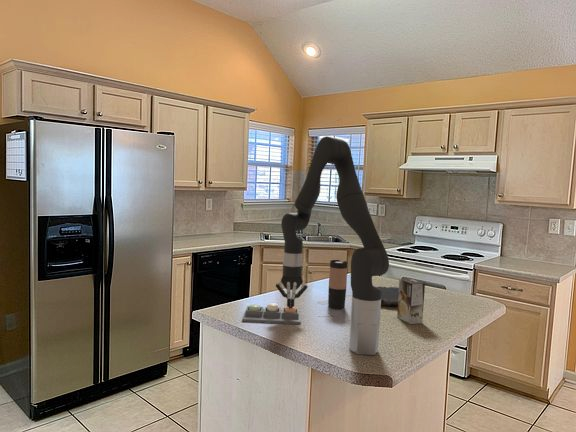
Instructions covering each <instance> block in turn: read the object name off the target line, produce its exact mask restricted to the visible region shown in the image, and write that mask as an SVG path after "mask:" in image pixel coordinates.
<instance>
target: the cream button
mask: <svg viewBox="0 0 576 432" xmlns="http://www.w3.org/2000/svg"><path fill="white" fill-rule="evenodd" d="M266 307H267V311H268V312H278V308H279V304H278V303H274V302H271V303H267V304H266Z"/></svg>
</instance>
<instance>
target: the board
mask: <svg viewBox="0 0 576 432" xmlns="http://www.w3.org/2000/svg"><path fill="white" fill-rule="evenodd" d="M376 287H377V288H379V289H380V290H381V292H382V296H381V306H384V307H385V306H386V307H388V306H390V307H391V306H392V307H396V306H397V307H398V295H399V286H398V287H396V286H389V287H387V286H376Z"/></svg>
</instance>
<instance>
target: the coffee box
mask: <svg viewBox="0 0 576 432" xmlns="http://www.w3.org/2000/svg"><path fill="white" fill-rule="evenodd" d="M398 287H399V295H398V305H397V315H396V317H397V318H398V319H399V320H400V321H401V320H402V321H404V322H405V323H407V324H409V325H415V324H416V325H417V324H422V323H423V320H424V319H423V318H424V305H425V291H426V288H425V287H426V283H425V282H422V281H420V280H416V279H413V278H399V281H398Z"/></svg>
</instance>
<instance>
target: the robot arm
mask: <svg viewBox="0 0 576 432" xmlns="http://www.w3.org/2000/svg"><path fill="white" fill-rule="evenodd" d="M327 164H331V165H333V166H334V167H335V169H336V172H337V176H338V185H337V190H336V197H335V199H336V203H337V206H338V209H339V213H340V215H341V217H342V218H343V220H344V221H345V223H346V224H347V225H348V226H349V227H350V228H351V229H352V230H353V231H354V232H355V234H356V235H357V236H358V237H359V239H360V241H361V244H362V246H363V247H359V248H356V249H355V250H354V251H353V253H352V255H351V260H350V287H351V291H352V292H351V293H352V295H351V310H350V311H351V312H350V328H349V343H348V345H349V346H348V349H349V350H350V351H351V352H353V353H355V355H364V356H365V355H367V356H368V355H369V356H376V354H377V353H378V352H379V340H380V339H379V338H380V325H381V308H382V305H381V296H382V292H381V290H380V289H379V288H377V287H378V286H374V285H373V277H378V276H383V275H385V274H387V272H388V271H389V268H390V259H389V256H388V253H387V250H386V249H385V246H384V243H383V241H382V240H381V237H380V236H379V232H378V231H377V228H376V226H375V223H374V221H373V219H372V216H371V212H370V210H369V207H368V203H367V200H366V198H365V195H364V193H363V192H364V191H363V190H362V187H361V184H360V181H359V178H358V176H357V175H358V174H357V172H356V168H355V163H354V159H353V155H352V151H351V147H350V145H349V143H348V142H347V141H346V140H344V139H342V138H338V137H332V136H329V135H327V136H323V137H322V138H321V139H320V140H319V141H318V143H317V145H316V147H315V150H314V153H313V156H312V159H311V162H310V165H309V168H308V172H307V174H306V178H305V181H304V183H303V185H302V187H301V189H300V191H299V193H298V195H297V197H296V199H295V201H294V206H295V208H296V209H297V211H296V212H288V213H287V212H286V213H285V214H284V215H283V217H282V219H281V224H280V225H281V230H282V235H283V240H284V248H283V249H284V251H283V258H282V259H283V260H282V274H281V275H282V276H281V279H280V281H278V282H276V283H275V287H276V288H277V290H278V291H279V293H280V294H281V296H282V297H283V298H286V307H289V308H290V306H291V308H292V307H295V300H296V299H298V298H300V297H301V296H302V295H303V294H304V293H305V291H306V290H307V289H308V285H307V283H306V284H305V282H304V281H303V277H302V275H303V261H304V259H303V258H304V257H303V247H304V246H303V244H304V243H303V241H304V240H303V238H301V237H299V236H297V232H299V231H300V232H301V231H303V230H305V229H306V228H307V226H308V225H309V223H310V220H311V215H312V212H313V211H312V210H313V208H314V206H315V205H316V203H317V200H318V199H319V197H320V193H321V178H322V177H321V176H322V174H323V171H324V169H325V167H326V166H327ZM282 287H284V288H282ZM299 288H300V289H299ZM284 289H285V290H286V291H285V290H284ZM298 289H299V291H298V292H297V293H296V290H298Z"/></svg>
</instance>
